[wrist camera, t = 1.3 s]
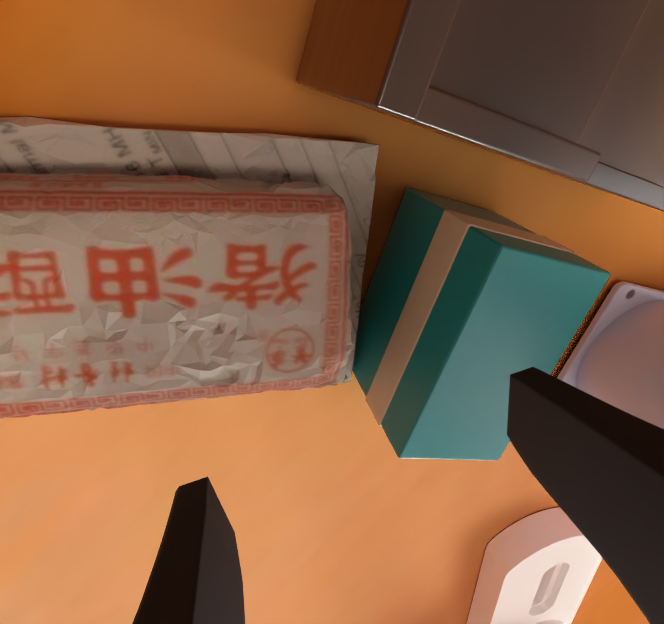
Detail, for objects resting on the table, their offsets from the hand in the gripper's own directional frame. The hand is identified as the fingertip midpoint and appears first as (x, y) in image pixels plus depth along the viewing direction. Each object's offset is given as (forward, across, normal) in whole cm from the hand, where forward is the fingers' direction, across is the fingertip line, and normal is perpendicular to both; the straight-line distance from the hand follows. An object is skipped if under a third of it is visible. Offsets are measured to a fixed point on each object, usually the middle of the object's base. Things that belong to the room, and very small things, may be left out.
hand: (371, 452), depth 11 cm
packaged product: (+10, +6, -2) cm, 12 cm away
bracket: (+10, -12, +34) cm, 37 cm away
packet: (+10, -5, +2) cm, 11 cm away
